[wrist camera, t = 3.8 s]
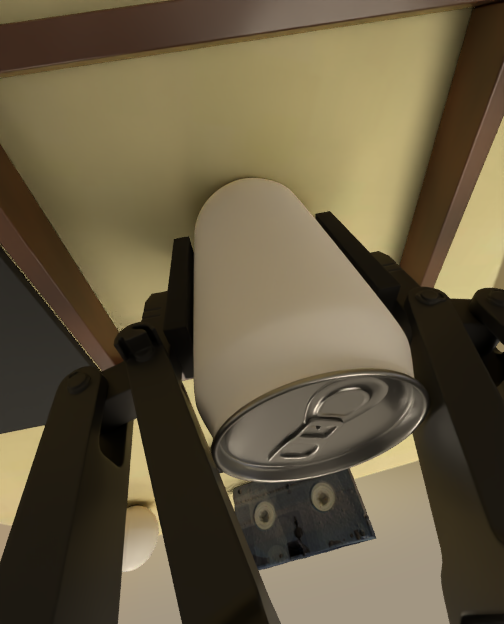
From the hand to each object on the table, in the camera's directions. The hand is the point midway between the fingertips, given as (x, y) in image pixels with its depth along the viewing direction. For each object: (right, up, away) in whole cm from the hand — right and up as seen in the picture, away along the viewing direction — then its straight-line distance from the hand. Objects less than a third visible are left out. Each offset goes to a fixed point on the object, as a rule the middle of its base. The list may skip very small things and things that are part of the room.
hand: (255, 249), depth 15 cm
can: (0, +1, +1) cm, 2 cm away
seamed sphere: (-19, -33, +28) cm, 48 cm away
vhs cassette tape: (+5, -28, +28) cm, 40 cm away
